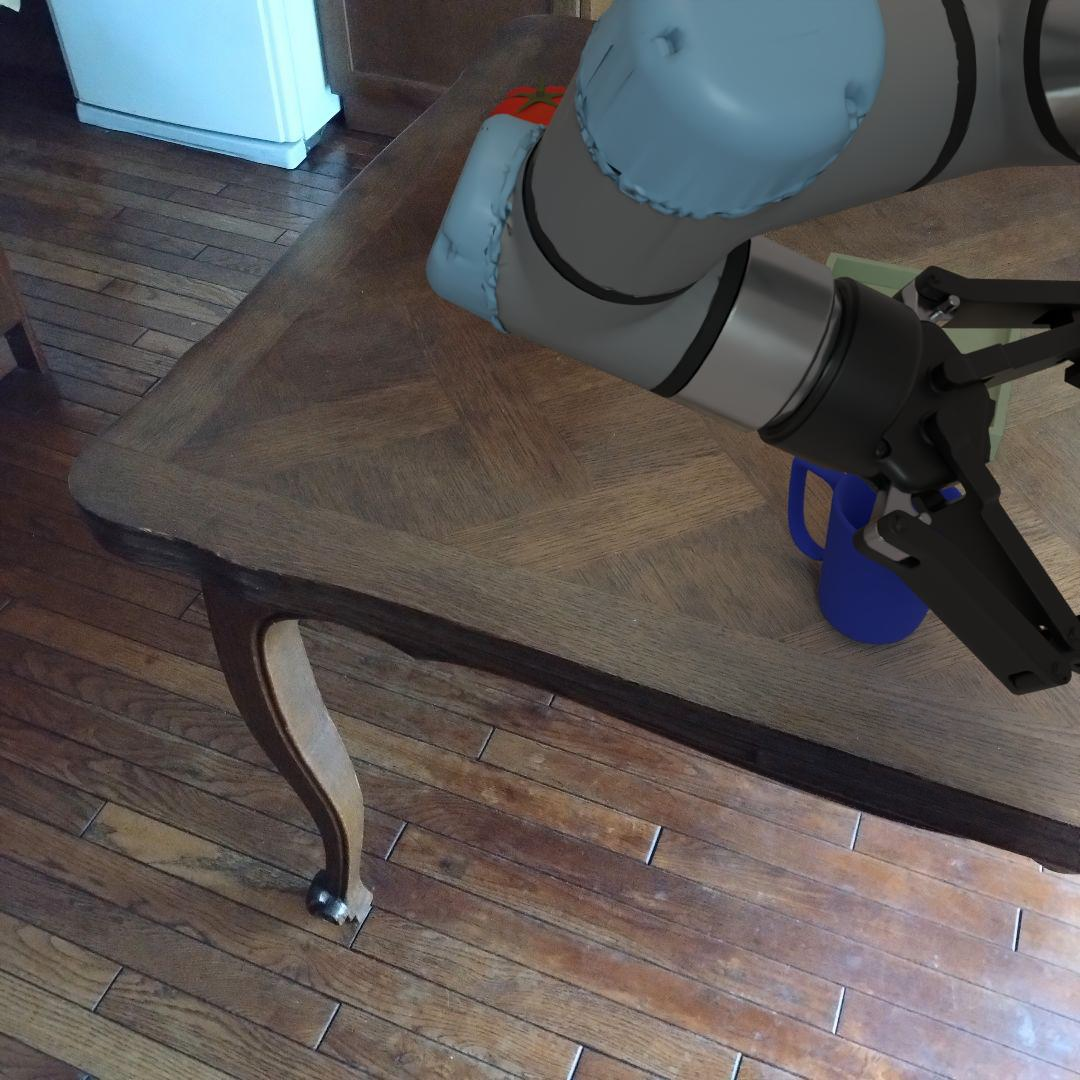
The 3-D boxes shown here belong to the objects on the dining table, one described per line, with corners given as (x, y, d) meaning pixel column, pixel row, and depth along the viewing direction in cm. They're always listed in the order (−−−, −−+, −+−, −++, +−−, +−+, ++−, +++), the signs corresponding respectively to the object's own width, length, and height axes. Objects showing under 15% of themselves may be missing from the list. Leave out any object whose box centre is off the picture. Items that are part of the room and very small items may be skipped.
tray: (992, 461, 82) (1003, 435, 80) (769, 407, 87) (774, 381, 85) (1019, 315, 96) (1028, 290, 94) (825, 275, 101) (830, 251, 99)
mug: (815, 521, 78) (841, 414, 70) (955, 618, 71) (1000, 510, 64) (737, 574, 74) (757, 467, 67) (878, 681, 67) (916, 575, 60)
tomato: (560, 162, 117) (561, 55, 109) (629, 213, 109) (636, 101, 101) (463, 191, 113) (456, 81, 105) (528, 246, 105) (526, 132, 97)
